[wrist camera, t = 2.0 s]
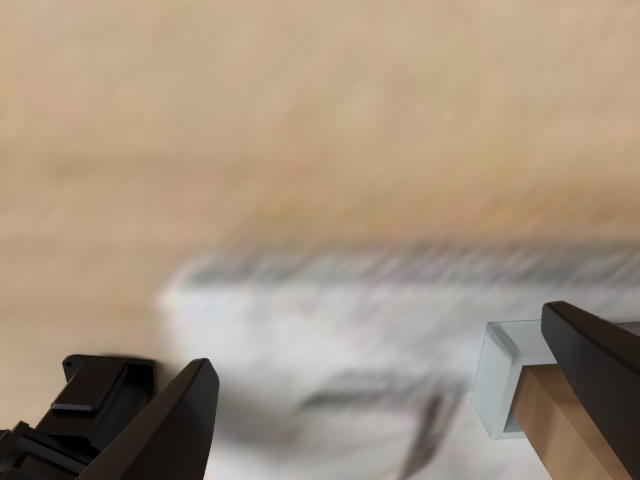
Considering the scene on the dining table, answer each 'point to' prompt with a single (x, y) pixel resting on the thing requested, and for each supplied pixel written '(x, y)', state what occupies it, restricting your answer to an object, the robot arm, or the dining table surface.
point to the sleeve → (510, 371)
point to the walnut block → (562, 427)
